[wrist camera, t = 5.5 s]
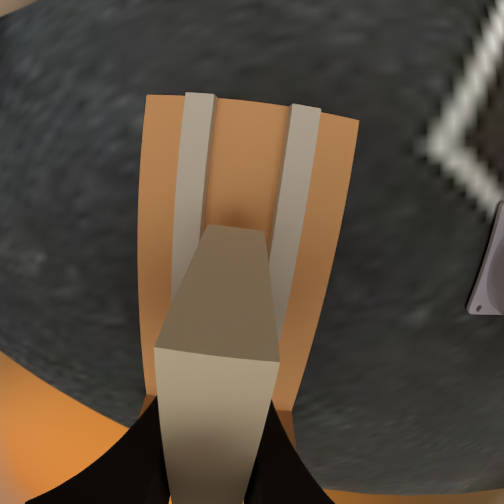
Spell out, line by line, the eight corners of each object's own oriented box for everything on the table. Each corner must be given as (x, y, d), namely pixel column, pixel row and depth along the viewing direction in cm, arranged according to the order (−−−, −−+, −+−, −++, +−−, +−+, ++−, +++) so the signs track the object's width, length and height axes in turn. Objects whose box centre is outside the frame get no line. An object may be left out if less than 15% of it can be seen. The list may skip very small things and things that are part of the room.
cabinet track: (352, 120, 15) (420, 116, 8) (285, 414, 22) (293, 493, 15) (153, 96, 14) (87, 77, 8) (151, 399, 21) (128, 475, 15)
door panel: (264, 230, 11) (280, 362, 5) (235, 418, 15) (230, 540, 8) (208, 224, 11) (153, 346, 5) (196, 414, 15) (178, 534, 8)
